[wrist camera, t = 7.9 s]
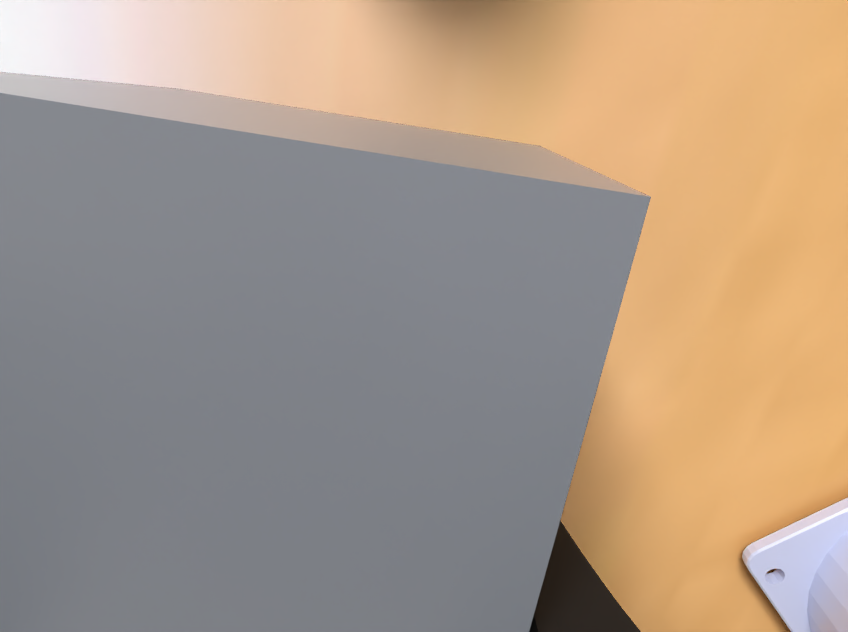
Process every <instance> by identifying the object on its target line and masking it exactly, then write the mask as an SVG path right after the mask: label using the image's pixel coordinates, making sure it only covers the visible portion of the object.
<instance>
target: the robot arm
mask: <svg viewBox="0 0 848 632" xmlns="http://www.w3.org/2000/svg"><path fill="white" fill-rule="evenodd" d="M742 559H743V561H744V564H745V565H746V567H747V568H748V570H749V571H750V573H751V574H752V576H753V577H754V579H755V580H756V582H757V583H758V584H759V586H760V587H761V589H762V590H763V592H764V593H765V595H766V596H767V597H768V599H769V600H770V602H771V603H772V605H773V606H774V608H775V609H776V610H777V612H778V613H779V615H780V616H781V618H782V619H783V621H784V622H785V623H786V625H787V626H788V628H789V629H790V631H791V632H848V498H845V499H843V500H841V501H839V502H837V503H835V504H833V505H831V506H829V507H827V508H824V509H822V510H820V511H818V512H816V513H814V514H812V515H810V516H808V517H806V518H803V519H801V520H799V521H797V522H795V523H793V524H791V525H789V526H787V527H784V528H782V529H780V530H778V531H776V532H774V533H772V534H770V535H768V536H766V537H763V538H761V539H759V540H757V541H755V542H753V543H751V544H750V545H748V546H747V547H746V548H745V550H744V551H743V555H742ZM771 569H776V570H775V571H774V572H772V573H768V574H767V572H768V571H769V570H771ZM529 632H641V631H640V630H639V629H638V628H637V626H636V625H635V624H634V623H633V621H632V620H631V619H630V618H629V616H628V615H627V614H626V613H625V611H624V610H623V609H622V608H621V606H620V605H619V604H618V602H617V601H616V600H615V598H614V597H613V596H612V594H611V593H610V592H609V590H608V589H607V588H606V586H605V585H604V583H603V582H602V581H601V579H600V578H599V576H598V575H597V574H596V572H595V571H594V569H593V568H592V566H591V565H590V564H589V562H588V561H587V559H586V558H585V557H584V555H583V554H582V552H581V551H580V549H579V548H578V546H577V545H576V543H575V542H574V540H573V539H572V537H571V536H570V534H569V533H568V531H567V530H566V528H565V527H564V525H563V524H562V522H561V521H560V523H559V527H558V530H557V534H556V537H555V541H554V544H553V548H552V552H551V555H550V559H549V562H548V566H547V569H546V573H545V577H544V580H543V584H542V587H541V591H540V594H539V598H538V602H537V605H536V609H535V612H534V616H533V619H532V623H531V627H530V630H529Z"/></svg>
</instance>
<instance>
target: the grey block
mask: <svg viewBox="0 0 848 632" xmlns="http://www.w3.org/2000/svg"><path fill="white" fill-rule="evenodd" d="M650 198H651V197H650V196H648V195H646V194H644V193H641V192H639V191H637V190H635V189H633V188H630V187H628V186H626V185H624V184H622V183H619V182H617V181H615V180H613V179H611V178H609V177H606V176H604V175H602V174H600V173H598V172H595V171H593V170H591V169H589V168H587V167H585V166H582V165H580V164H578V163H576V162H574V161H571V160H569V159H567V158H565V157H563V156H561V155H558V154H556V153H554V152H552V151H550V150H547V149H545V148H543V147H541V146H537V145H531V144H524V143H518V142H512V141H505V140H499V139H493V138H486V137H480V136H474V135H467V134H461V133H455V132H448V131H442V130H436V129H429V128H423V127H417V126H410V125H404V124H398V123H392V122H385V121H379V120H373V119H366V118H360V117H354V116H347V115H341V114H335V113H328V112H322V111H316V110H309V109H303V108H297V107H290V106H284V105H278V104H271V103H265V102H259V101H252V100H246V99H240V98H233V97H227V96H221V95H214V94H208V93H202V92H195V91H189V90H183V89H176V88H165V87H155V86H144V85H133V84H123V83H112V82H102V81H91V80H80V79H70V78H59V77H48V76H38V75H27V74H16V73H6V72H0V632H529V630H530V627H531V623H532V619H533V616H534V612H535V609H536V605H537V602H538V598H539V594H540V591H541V587H542V584H543V580H544V577H545V573H546V569H547V566H548V562H549V559H550V555H551V552H552V548H553V544H554V541H555V537H556V534H557V530H558V527H559V523H560V519H561V516H562V512H563V509H564V505H565V502H566V498H567V494H568V491H569V487H570V484H571V480H572V477H573V473H574V469H575V466H576V462H577V459H578V455H579V452H580V448H581V444H582V441H583V437H584V434H585V430H586V427H587V423H588V419H589V416H590V412H591V409H592V405H593V402H594V398H595V394H596V391H597V387H598V384H599V380H600V377H601V373H602V369H603V366H604V362H605V359H606V355H607V352H608V348H609V344H610V341H611V337H612V334H613V330H614V327H615V323H616V319H617V316H618V312H619V309H620V305H621V302H622V298H623V294H624V291H625V287H626V284H627V280H628V277H629V273H630V269H631V266H632V262H633V259H634V255H635V252H636V248H637V244H638V241H639V237H640V234H641V230H642V227H643V223H644V219H645V216H646V212H647V209H648V205H649V202H650Z"/></svg>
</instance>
